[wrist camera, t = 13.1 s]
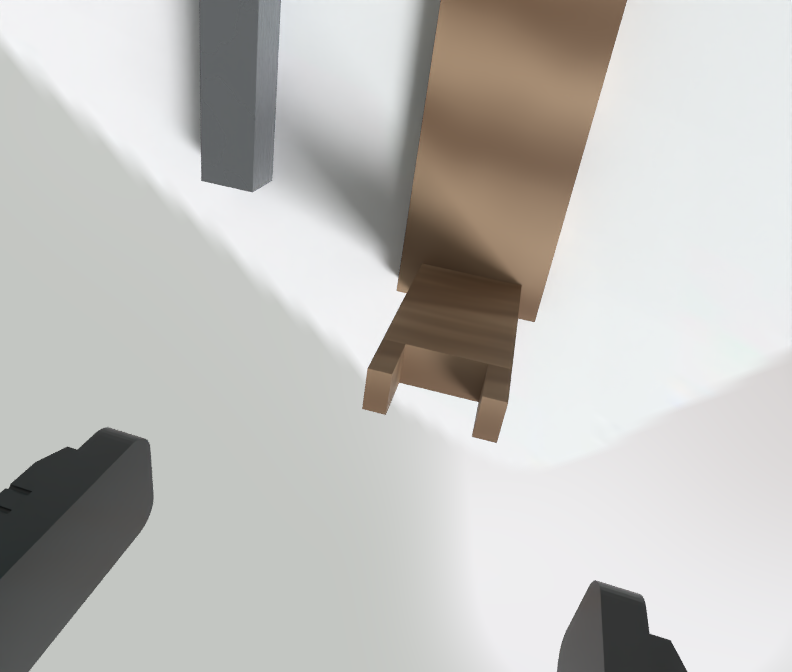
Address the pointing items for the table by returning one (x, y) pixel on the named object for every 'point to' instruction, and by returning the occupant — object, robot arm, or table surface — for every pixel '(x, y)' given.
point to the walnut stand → (490, 191)
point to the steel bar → (238, 91)
